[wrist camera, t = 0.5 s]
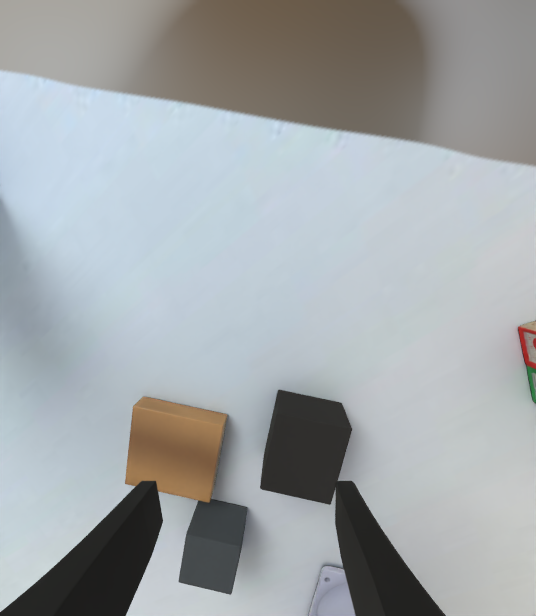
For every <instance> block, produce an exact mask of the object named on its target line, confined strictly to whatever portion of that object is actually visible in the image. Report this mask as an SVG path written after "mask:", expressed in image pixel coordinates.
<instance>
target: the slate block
mask: <svg viewBox="0 0 536 616" xmlns="http://www.w3.org/2000/svg"><path fill="white" fill-rule="evenodd" d="M246 515H247V507H243V506H239V505H234V504H230V503H225V502H221V501H216V500H212V499H211V500H210V502H209V503H208V502H203V501H198V504H197V506H196V509H195V512H194V515H193V517H192V520H191V523H190V526H189V528H188V531H187V534H186V539H185V545H184V552H183V558H182V564H181V570H180V576H179V582H180V583H184V584H188V585H193V586H197V587H201V588H205V589H210V590H214V591H218V592H222V593H226V594H231V593H232V589H233V585H234V580H235V575H236V571H237V566H238V561H239V557H240V552H241V548H242V541H243V534H244V528H245V521H246Z"/></svg>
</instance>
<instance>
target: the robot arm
mask: <svg viewBox="0 0 536 616" xmlns="http://www.w3.org/2000/svg"><path fill="white" fill-rule="evenodd" d="M162 523H163V518H162V513H161V507H160V501H159V495H158V489H157V483H156V481H141V482H140V483H139V484H138V485H137V486H136V487H135V488H134V489H133V490H132V491H131V492H130V493H129V494H128V495H127V496H126V497H125V498H124V499H123V500H122V501H121V502H120V503H119V504H118V505H117V506H116V507H115V508H114V509H113V510H112V511H111V512H110V513H109V514H108V515H107V516H106V517H105V518H104V519H103V520H102V521H101V522H100V523H99V524H98V525H97V526H96V527H95V528H94V529H93V530H92V531H91V532H90V533H89V534H88V535H87V536H86V537H85V538H84V539H83V540H82V541H81V542H80V543H79V544H78V545H77V546H76V547H75V548H73V549H72V550H71V551H70V552H69V553H68V554H67V555H66V556H65V557H64V558H63V559H62V560H61V561H60V562H59V563H57V564H56V565H55V566H54V567H53V568H52V569H51V570H50V571H49V572H47V573H46V574H45V575H44V576H43V577H42V578H41V579H40V580H38V581H37V582H36V583H35V584H34V585H33V586H31V587H30V588H29V589H28V590H27V591H25V592H24V593H23V594H22V595H21V596H20V597H18V598H17V599H16V600H15V601H14V602H12V603H11V604H10V605H9V606H8V607H6V608H5V609H4V610H3V611H1V612H0V616H126V614H127V611H128V609H129V607H130V604H131V602H132V600H133V598H134V595H135V593H136V591H137V588H138V586H139V584H140V581H141V579H142V577H143V574H144V572H145V570H146V567H147V565H148V563H149V560H150V558H151V556H152V553H153V550H154V547H155V544H156V541H157V538H158V535H159V532H160V529H161V526H162ZM335 524H336V530H337V536H338V542H339V548H340V554H341V559H342V563H343V567H344V569H340V568H336V567H332V566H324V567H323V568H322V571H321V574H320V577H319V581H318V584H317V588H316V591H315V594H314V598H313V601H312V605H311V608H310V611H309V615H308V616H446V615H445V614H444V613H443V612H442V610H441V609H440V608H439V607H438V605H437V604H436V603H435V602H434V600H433V599H432V598H431V597H430V595H429V594H428V593H427V592H426V590H425V589H424V588H423V586H422V585H421V584H420V582H419V581H418V580H417V578H416V577H415V576H414V574H413V573H412V572H411V570H410V569H409V568H408V566H407V565H406V564H405V562H404V561H403V559H402V558H401V557H400V555H399V554H398V552H397V551H396V549H395V548H394V547H393V545H392V544H391V542H390V541H389V539H388V538H387V536H386V535H385V533H384V532H383V530H382V529H381V527H380V526H379V524H378V523H377V521H376V519H375V518H374V516H373V515H372V513H371V511H370V510H369V508H368V506H367V505H366V503H365V501H364V500H363V498H362V496H361V495H360V493H359V491H358V489H357V487H356V485H355V484H354V483H353V482H352V481H336V510H335Z"/></svg>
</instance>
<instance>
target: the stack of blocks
mask: <svg viewBox="0 0 536 616" xmlns="http://www.w3.org/2000/svg"><path fill="white" fill-rule="evenodd" d="M518 330H519V335H520V341H521V345H522V350H523V355H524V360H525V363H526V365H527V371H528V377H529V382H530V387H531V393H532V398H533V401H534V403H536V321H534V322H530V323H527V324H523V325H520V326H519V327H518Z"/></svg>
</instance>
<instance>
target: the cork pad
mask: <svg viewBox="0 0 536 616" xmlns="http://www.w3.org/2000/svg"><path fill="white" fill-rule="evenodd" d="M226 421H227V414H223V413H218V412H214V411H209V410H204V409H200V408H195V407H190V406H186V405H181V404H176V403H172V402H167V401H163V400H158V399H153V398H149V397H142V398H141V399H140V400H139V401H138V402H137V403H136V404H135V405H134V406H133V413H132V422H131V432H130V441H129V451H128V460H127V469H126V479H125V484H128V485H132V486H137V485H138V484H139V483H140V482H141V481H156V483H157V489H158V491H159V492H163V493H168V494H172V495H177V496H181V497H186V498H190V499H194V500H199V501H203V502H208V503H209V502H210V500H211V497H212V494H213V490H214V487H215V482H216V476H217V471H218V465H219V460H220V454H221V449H222V443H223V438H224V432H225V427H226Z"/></svg>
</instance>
